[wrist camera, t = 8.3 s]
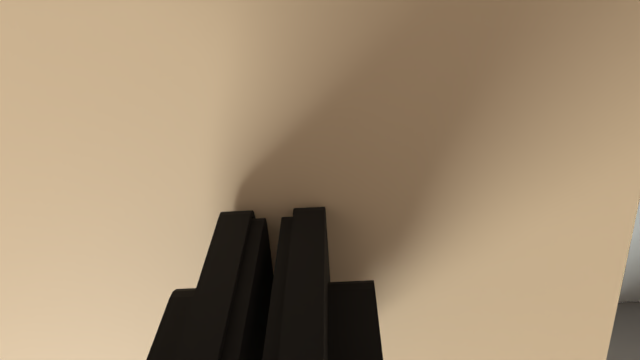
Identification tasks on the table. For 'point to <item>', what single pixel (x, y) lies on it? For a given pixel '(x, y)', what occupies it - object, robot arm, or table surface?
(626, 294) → the table surface
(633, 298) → the table surface
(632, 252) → the table surface
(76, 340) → the box lid
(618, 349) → the grey rounded blob
